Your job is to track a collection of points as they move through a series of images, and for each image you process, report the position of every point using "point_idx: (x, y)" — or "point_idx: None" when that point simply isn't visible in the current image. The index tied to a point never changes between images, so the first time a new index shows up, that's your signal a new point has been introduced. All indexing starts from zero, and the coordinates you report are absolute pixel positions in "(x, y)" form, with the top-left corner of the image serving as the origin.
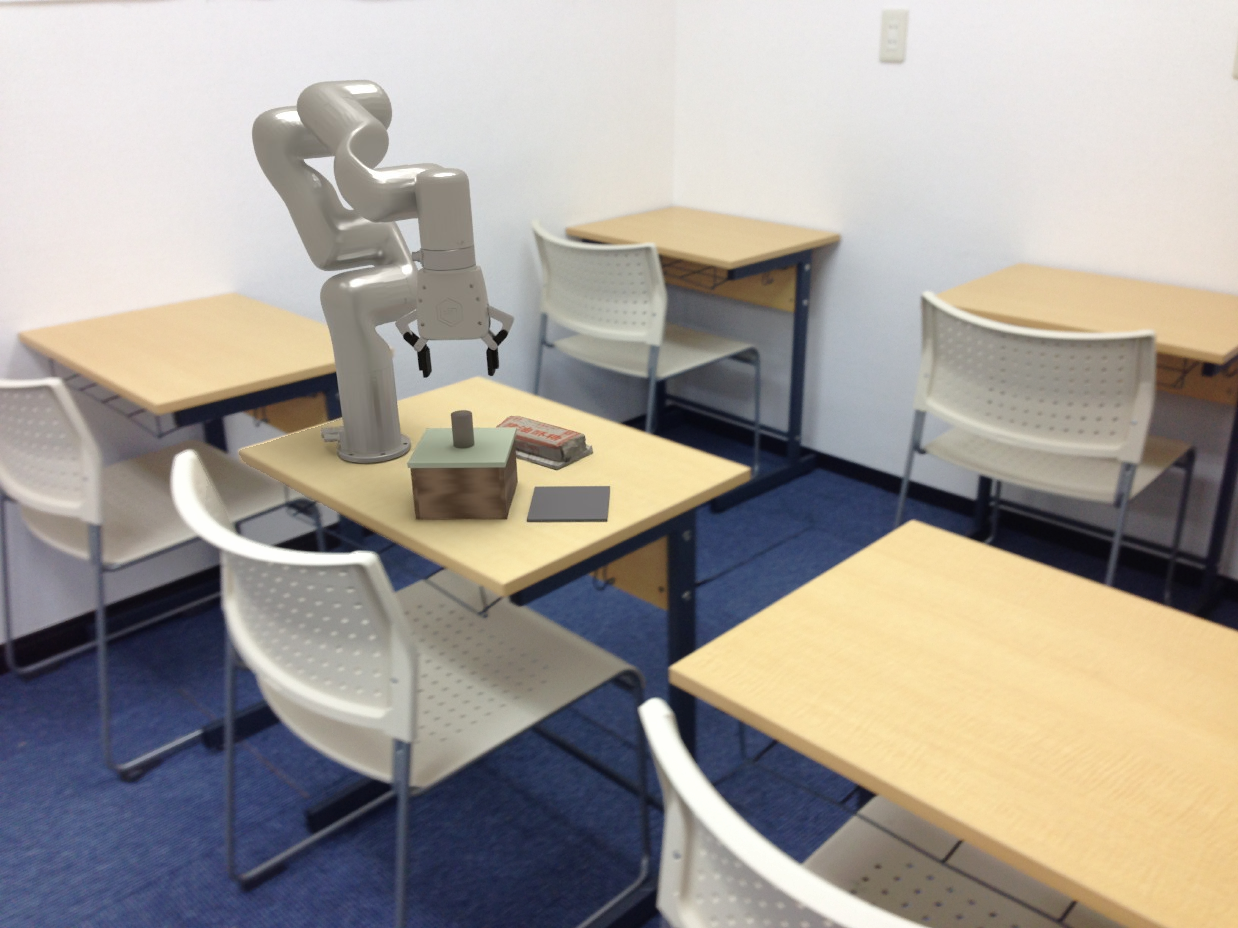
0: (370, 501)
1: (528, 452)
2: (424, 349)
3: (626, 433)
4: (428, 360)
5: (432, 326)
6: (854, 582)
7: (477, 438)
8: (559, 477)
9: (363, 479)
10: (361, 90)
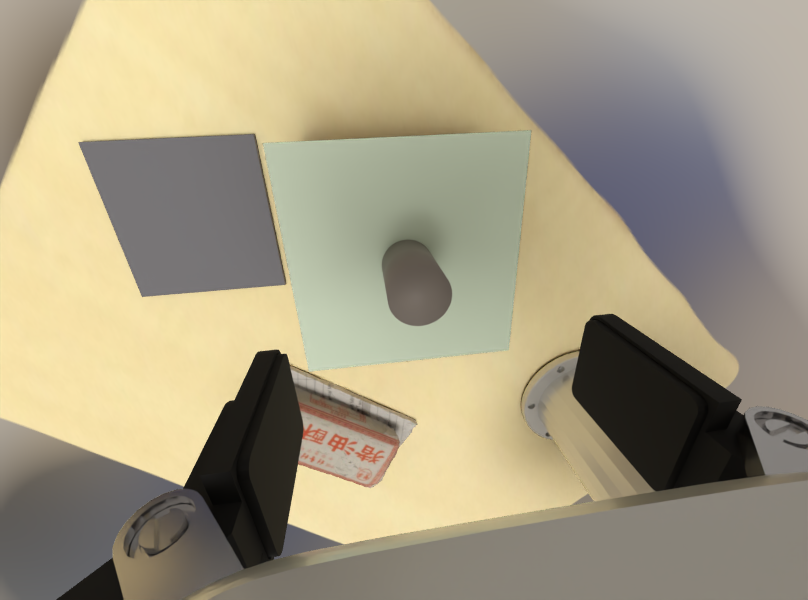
0: (561, 215)
1: (332, 400)
2: (714, 439)
3: None
4: (627, 401)
5: None
6: None
7: (383, 302)
8: (257, 330)
9: (579, 298)
10: None
